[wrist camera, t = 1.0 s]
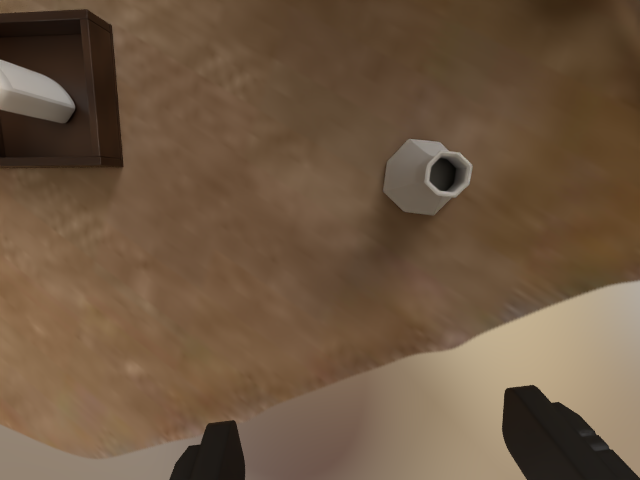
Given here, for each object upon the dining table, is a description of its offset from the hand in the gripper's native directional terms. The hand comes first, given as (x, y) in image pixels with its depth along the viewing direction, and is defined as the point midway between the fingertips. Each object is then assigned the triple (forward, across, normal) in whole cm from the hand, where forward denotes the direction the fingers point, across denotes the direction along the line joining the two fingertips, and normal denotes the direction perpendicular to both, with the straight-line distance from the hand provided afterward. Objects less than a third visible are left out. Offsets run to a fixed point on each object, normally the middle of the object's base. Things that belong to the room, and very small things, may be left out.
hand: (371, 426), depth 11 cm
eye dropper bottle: (+32, +26, -14) cm, 43 cm away
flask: (+26, -10, -3) cm, 28 cm away
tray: (+32, +26, -14) cm, 43 cm away
